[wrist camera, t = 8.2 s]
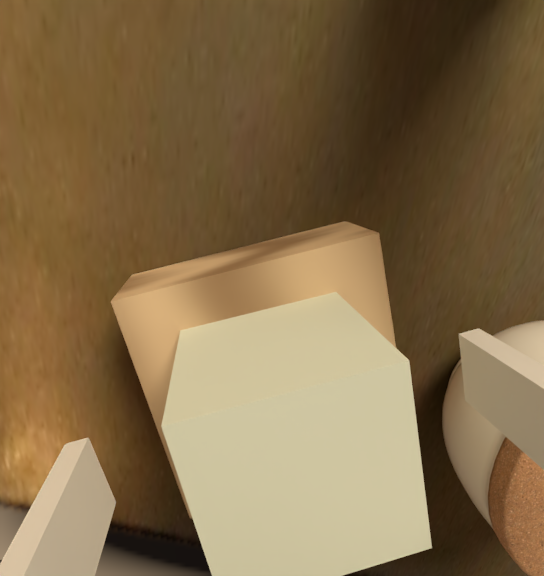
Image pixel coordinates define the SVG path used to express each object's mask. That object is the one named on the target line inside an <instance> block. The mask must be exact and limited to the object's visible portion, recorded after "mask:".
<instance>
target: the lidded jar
mask: <svg viewBox="0 0 544 576" xmlns="http://www.w3.org/2000/svg"><path fill="white" fill-rule="evenodd" d="M493 337H495V338H496V339H498V340H500V341H502V342H503V343H505V344H507V345H509V346H510V347H512V348H514V349H516V350H517V351H519V352H521V353H522V354H524V355H526V356H528V357H529V358H531V359H533V360H535V361H536V362H538V363H540V364H542V365H543V366H544V320H542V321H533V322H528V323H524V324H521V325H517V326H513V327H510V328H507V329H505V330H503V331H500V332H498V333H496V334H494V335H493ZM442 427H443V436H444V440H445V445H446V448H447V452H448V455H449V458H450V461H451V463H452V465H453V467H454V470H455V472H456V474H457V476H458V478H459V480H460V482H461V483H462V485H463V487H464V489H465V490H466V492H467V494H468V495H469V497H470V499H471V500H472V502H473V503H474V505H475V506H476V508H477V509H478V510H479V512H480V513H481V514H482V516H483V517H484V518H485V520H486V521H487V522H488V524H489V525H490V526H491V527H492V528H493V530H494V531H495V533H496V535H497V537H498V539H499V541H500V543H501V544H502V546H503V547H504V548H505V550H506V551H507V552H508V554H509V555H510V556H511V557H512V559H513V560H514V561H515V562H516V563H517V565H518V566H519V567H520V568H521V569H522V570H523V571H524V572H525V573H526V574H528V575H529V576H544V470H543V469H542V468H541V467H540V466H538V465H537V464H536V463H535V462H534V461H533V460H532V459H531V458H529V457H528V456H527V455H526V454H525V453H524V452H523V451H522V450H520V449H519V448H518V447H517V446H516V445H515V444H514V443H513V442H511V441H510V440H509V439H508V438H507V437H506V436H505V435H504V434H502V433H501V432H500V431H499V430H498V429H497V428H496V427H495V426H494V425H492V424H491V423H490V422H489V421H488V420H487V419H486V418H485V417H483V416H482V415H481V414H480V413H479V412H478V411H477V410H476V409H474V408H473V407H472V406H471V405H470V404H469V403H468V402H467V401H465V394H464V384H463V374H462V363H461V359H460V360H459V361H458V363H457V364H456V366H455V368H454V369H453V371H452V373H451V376H450V379H449V382H448V387H447V390H446V393H445V398H444V402H443V411H442Z"/></svg>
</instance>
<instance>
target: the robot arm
mask: <svg viewBox="0 0 544 576" xmlns="http://www.w3.org/2000/svg"><path fill="white" fill-rule="evenodd" d="M459 343H460V353H461V363H462V374H463V384H464V394H465V401H467V402H468V403H469V404H470V405H471V406H472V407H473V408H474V409H476V410H477V411H478V412H479V413H480V414H481V415H482V416H483V417H485V418H486V419H487V420H488V421H489V422H490V423H491V424H492V425H494V426H495V427H496V428H497V429H498V430H499V431H500V432H501V433H502V434H504V435H505V436H506V437H507V438H508V439H509V440H510V441H511V442H513V443H514V444H515V445H516V446H517V447H518V448H519V449H520V450H522V451H523V452H524V453H525V454H526V455H527V456H528V457H529V458H531V459H532V460H533V461H534V462H535V463H536V464H537V465H538V466H540V467H541V468H542V469H543V470H544V366H543V365H542V364H540V363H538V362H536V361H535V360H533V359H531V358H529V357H528V356H526V355H524V354H522V353H521V352H519V351H517V350H516V349H514V348H512V347H510V346H509V345H507V344H505V343H503V342H502V341H500V340H498V339H496V338H495V337H493V336H491V335H489V334H488V333H486V332H484V331H482V330H481V329H479V328H478V329H475V330H471V331H467V332H464V333H460V334H459ZM115 505H116V501H115V498H114V496H113V494H112V491H111V489H110V487H109V484H108V482H107V480H106V477H105V475H104V473H103V470H102V468H101V466H100V463H99V461H98V459H97V456H96V454H95V452H94V449H93V447H92V445H91V442H90V440H89V438H85V439H81V440H78V441H74V442H70V443H67V444H65V445H64V447H63V449H62V451H61V453H60V454H59V456H58V458H57V460H56V462H55V464H54V465H53V467H52V469H51V471H50V473H49V475H48V477H47V478H46V480H45V482H44V484H43V486H42V488H41V489H40V491H39V493H38V495H37V497H36V499H35V500H34V502H33V504H32V506H31V508H30V510H29V512H28V513H27V515H26V517H25V519H24V521H23V523H22V525H21V526H20V528H19V530H18V532H17V534H16V536H15V537H14V539H13V541H12V543H11V545H10V547H9V549H8V550H7V552H6V554H5V556H4V558H3V559H2V560H0V576H95V574H96V570H97V567H98V563H99V560H100V556H101V553H102V550H103V546H104V543H105V539H106V536H107V532H108V529H109V525H110V522H111V519H112V515H113V512H114V508H115Z"/></svg>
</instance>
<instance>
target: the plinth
mask: <svg viewBox="0 0 544 576" xmlns="http://www.w3.org/2000/svg"><path fill="white" fill-rule="evenodd" d="M333 292H337V293H338V294H339V295H340V296H341V297H342V298H343V299H344V300H345V301H346V302H347V303H349V304H350V305H351V306H352V307H353V308H354V309H355V310H356V311H357V312H358V313H359V314H360V315H361V316H362V317H363V318H365V319H366V320H367V321H368V322H369V323H370V324H371V325H372V326H373V327H374V328H375V329H376V330H377V331H378V332H379V333H380V334H382V335H383V336H384V337H385V338H386V339H387V340H388V341H389V342H390V343H391V344H392V345H393V346H394V347H395V348H396V344H395V337H394V330H393V324H392V317H391V310H390V304H389V297H388V290H387V283H386V277H385V270H384V263H383V256H382V250H381V243H380V236H379V233H378V232H375V231H372V230H369V229H367V228H364V227H361V226H358V225H355V224H352V223H349V222H346V221H343V222H340V223H336V224H332V225H328V226H324V227H320V228H316V229H312V230H308V231H304V232H300V233H296V234H292V235H288V236H284V237H280V238H276V239H272V240H268V241H264V242H260V243H256V244H252V245H248V246H244V247H240V248H236V249H232V250H228V251H224V252H221V253H217V254H213V255H209V256H205V257H201V258H197V259H193V260H189V261H185V262H181V263H177V264H173V265H169V266H165V267H161V268H157V269H153V270H149V271H145V272H141V273H137V274H133V275H131V277H130V278H129V279H128V280H127V282H126V283H125V284H124V285H123V287H122V288H121V289H120V290H119V292H118V293H117V294H116V295H115V297H114V298H113V299H112V301H111V304H112V306H113V309H114V312H115V315H116V317H117V320H118V323H119V326H120V328H121V331H122V334H123V336H124V339H125V342H126V345H127V347H128V350H129V353H130V356H131V358H132V361H133V364H134V367H135V369H136V372H137V375H138V378H139V380H140V383H141V386H142V389H143V391H144V394H145V397H146V399H147V402H148V405H149V408H150V410H151V413H152V416H153V419H154V421H155V424H156V427H157V430H158V432H159V435H160V438H161V441H162V443H163V446H164V449H165V451H166V454H167V457H168V460H169V462H170V465H171V468H172V471H173V473H174V476H175V479H176V482H177V484H178V487H179V490H180V493H181V495H182V498H183V501H184V503H185V506H186V509H187V512H188V514H189V517H190V518H192V515H191V513H190V510H189V507H188V504H187V501H186V498H185V495H184V492H183V489H182V486H181V483H180V480H179V477H178V474H177V471H176V469H175V466H174V463H173V460H172V457H171V454H170V451H169V448H168V445H167V442H166V439H165V436H164V433H163V430H162V427H161V425H162V420H163V415H164V410H165V405H166V400H167V395H168V390H169V385H170V380H171V375H172V370H173V365H174V360H175V355H176V350H177V345H178V340H179V335H180V330H184V329H188V328H192V327H196V326H200V325H204V324H208V323H212V322H217V321H221V320H225V319H229V318H233V317H237V316H241V315H245V314H249V313H253V312H257V311H261V310H265V309H269V308H273V307H277V306H281V305H285V304H289V303H293V302H297V301H301V300H305V299H309V298H313V297H317V296H321V295H325V294H329V293H333Z"/></svg>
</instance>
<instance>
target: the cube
mask: <svg viewBox="0 0 544 576" xmlns="http://www.w3.org/2000/svg"><path fill="white" fill-rule="evenodd" d="M161 427H162V430H163V433H164V436H165V439H166V442H167V445H168V448H169V451H170V454H171V457H172V460H173V463H174V466H175V469H176V471H177V474H178V477H179V480H180V483H181V486H182V489H183V492H184V495H185V498H186V501H187V504H188V507H189V510H190V513H191V515H192V518H193V521H194V524H195V527H196V530H197V533H198V536H199V539H200V542H201V545H202V548H203V551H204V554H205V557H206V560H207V562H208V565H209V568H210V571H211V574H212V576H343V575H346V574H349V573H352V572H356V571H359V570H362V569H365V568H369V567H372V566H375V565H379V564H382V563H385V562H388V561H392V560H395V559H398V558H401V557H405V556H408V555H411V554H414V553H418V552H421V551H424V550H428V549H431V548H432V544H431V535H430V527H429V519H428V511H427V503H426V494H425V486H424V478H423V470H422V461H421V453H420V445H419V437H418V429H417V420H416V412H415V404H414V396H413V388H412V379H411V371H410V363H409V360H408V359H407V358H406V357H405V356H404V355H403V354H402V353H401V352H400V351H399V350H398V349H396V348H395V347H394V346H393V345H392V344H391V343H390V342H389V341H388V340H387V339H386V338H385V337H384V336H383V335H382V334H380V333H379V332H378V331H377V330H376V329H375V328H374V327H373V326H372V325H371V324H370V323H369V322H368V321H367V320H366V319H365V318H363V317H362V316H361V315H360V314H359V313H358V312H357V311H356V310H355V309H354V308H353V307H352V306H351V305H350V304H349V303H347V302H346V301H345V300H344V299H343V298H342V297H341V296H340V295H339V294H338V293H337V292H333V293H329V294H325V295H321V296H317V297H313V298H309V299H305V300H301V301H297V302H293V303H289V304H285V305H281V306H277V307H273V308H269V309H265V310H261V311H257V312H253V313H249V314H245V315H241V316H237V317H233V318H229V319H225V320H221V321H217V322H212V323H208V324H204V325H200V326H196V327H192V328H188V329H184V330H180V335H179V340H178V345H177V350H176V355H175V360H174V365H173V370H172V375H171V380H170V385H169V390H168V395H167V400H166V405H165V410H164V415H163V420H162V425H161Z"/></svg>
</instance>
